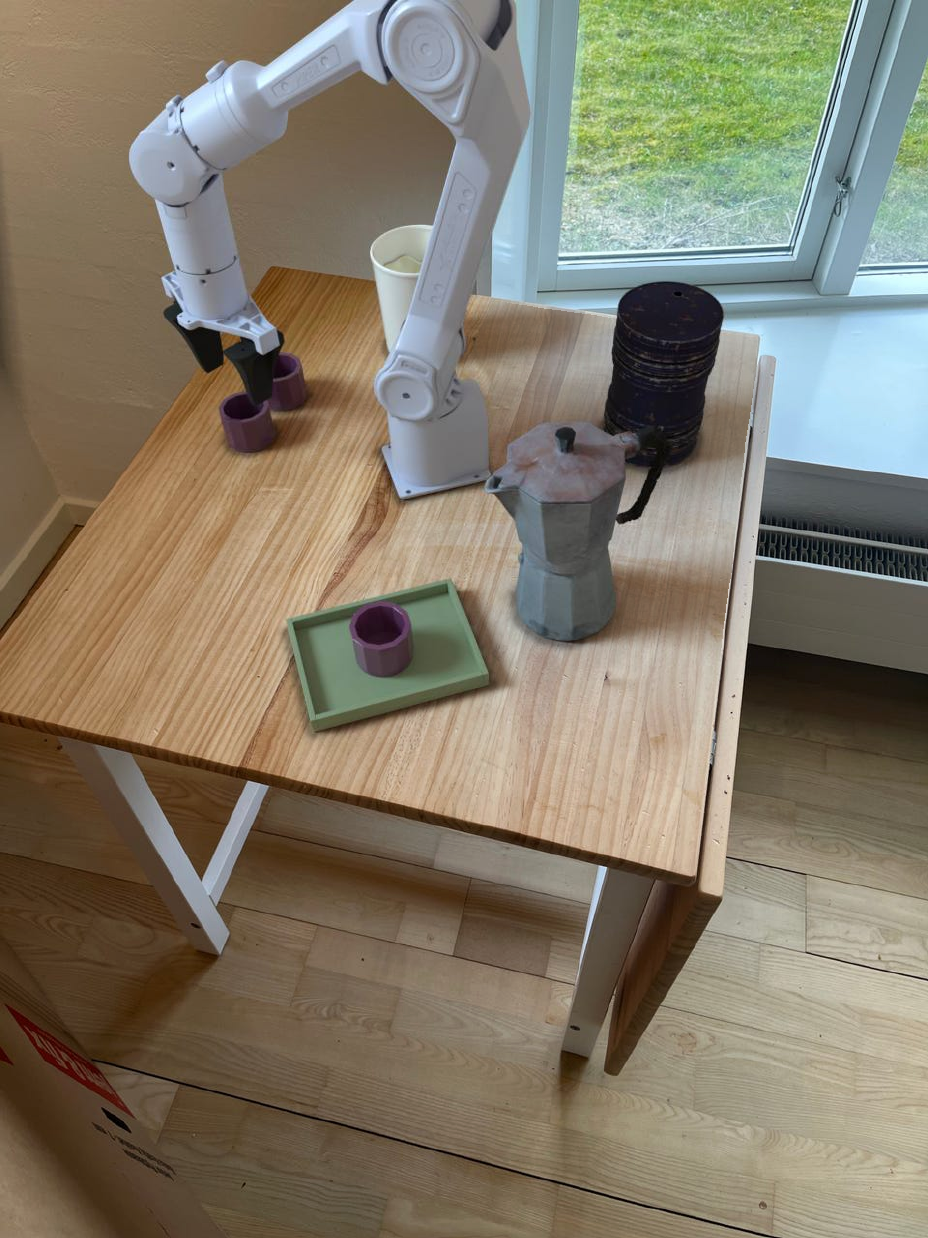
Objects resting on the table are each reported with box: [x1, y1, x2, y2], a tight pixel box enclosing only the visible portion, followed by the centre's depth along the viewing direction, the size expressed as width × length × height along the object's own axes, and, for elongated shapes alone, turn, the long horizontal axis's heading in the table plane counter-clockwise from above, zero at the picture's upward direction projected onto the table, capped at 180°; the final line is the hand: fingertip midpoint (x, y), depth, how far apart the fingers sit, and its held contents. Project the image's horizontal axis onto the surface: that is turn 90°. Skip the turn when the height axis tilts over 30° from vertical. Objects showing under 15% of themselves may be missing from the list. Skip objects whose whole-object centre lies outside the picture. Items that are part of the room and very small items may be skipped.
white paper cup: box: [369, 224, 433, 353], centre depth 105 cm, size 10×10×12 cm
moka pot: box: [483, 421, 673, 642], centre depth 77 cm, size 10×15×20 cm, turn 113°
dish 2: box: [349, 601, 414, 677], centre depth 80 cm, size 5×5×4 cm
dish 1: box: [218, 390, 276, 453], centre depth 98 cm, size 5×5×4 cm
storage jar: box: [602, 280, 725, 469], centre depth 93 cm, size 10×10×15 cm
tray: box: [285, 577, 490, 733], centre depth 81 cm, size 15×11×2 cm
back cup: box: [267, 351, 308, 412], centre depth 102 cm, size 5×5×4 cm
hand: (237, 383), depth 94 cm, fingers open, 7 cm apart
